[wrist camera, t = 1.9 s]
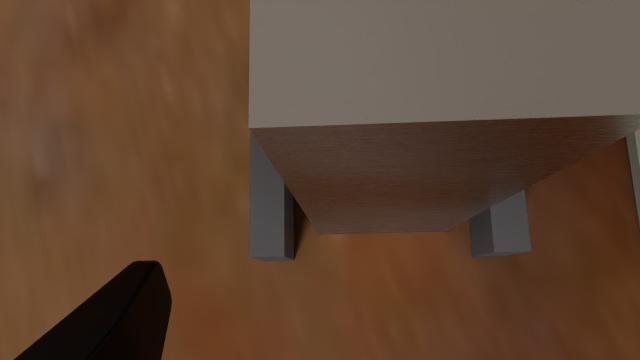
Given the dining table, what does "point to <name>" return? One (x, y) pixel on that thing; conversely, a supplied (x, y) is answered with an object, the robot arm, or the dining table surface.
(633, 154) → the off-white mat
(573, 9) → the steel post
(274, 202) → the c collar
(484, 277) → the dining table surface
